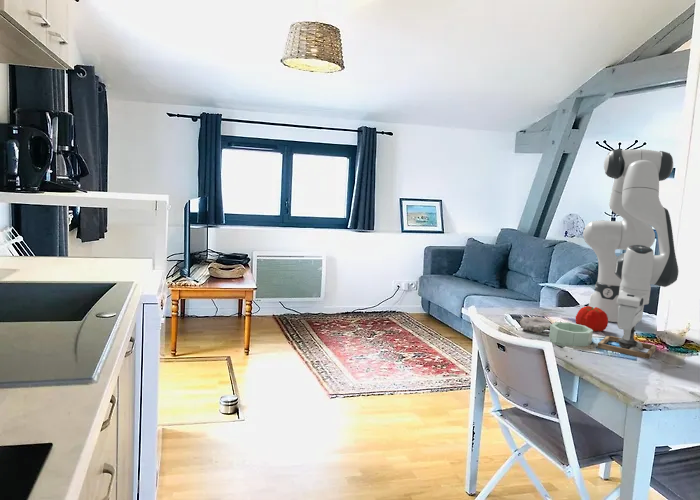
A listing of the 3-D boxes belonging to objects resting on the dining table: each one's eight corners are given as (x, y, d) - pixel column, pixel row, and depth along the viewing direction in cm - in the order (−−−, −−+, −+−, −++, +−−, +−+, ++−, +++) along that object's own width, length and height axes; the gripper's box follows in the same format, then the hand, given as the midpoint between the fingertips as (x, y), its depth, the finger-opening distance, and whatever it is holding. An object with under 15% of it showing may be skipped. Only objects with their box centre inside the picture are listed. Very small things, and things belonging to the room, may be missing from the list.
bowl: (556, 335, 197) (558, 320, 196) (593, 343, 189) (595, 327, 189) (545, 343, 187) (546, 327, 186) (583, 352, 180) (585, 335, 179)
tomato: (575, 325, 212) (578, 303, 211) (607, 330, 207) (610, 307, 206) (572, 331, 203) (575, 308, 202) (605, 337, 198) (608, 313, 197)
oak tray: (606, 342, 192) (607, 335, 192) (655, 352, 183) (656, 345, 183) (596, 350, 182) (597, 343, 181) (648, 362, 173) (649, 354, 172)
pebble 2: (643, 351, 184) (632, 350, 186) (643, 341, 184) (632, 340, 186) (641, 352, 181) (630, 350, 183) (642, 342, 182) (631, 340, 183)
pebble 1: (639, 353, 179) (628, 349, 180) (642, 347, 177) (631, 343, 178) (637, 360, 177) (626, 356, 178) (639, 353, 175) (629, 349, 176)
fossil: (553, 327, 196) (527, 314, 197) (544, 342, 198) (518, 329, 199) (550, 319, 204) (525, 306, 205) (541, 334, 206) (516, 321, 207)
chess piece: (612, 349, 184) (617, 314, 182) (625, 348, 186) (630, 313, 184) (627, 355, 178) (632, 318, 177) (640, 354, 181) (645, 317, 179)
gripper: (629, 290, 190) (624, 329, 192) (616, 299, 173) (610, 342, 176) (650, 293, 186) (645, 333, 188) (638, 303, 170) (632, 347, 172)
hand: (628, 338), depth 182 cm, fingers closed on chess piece, 3 cm apart
